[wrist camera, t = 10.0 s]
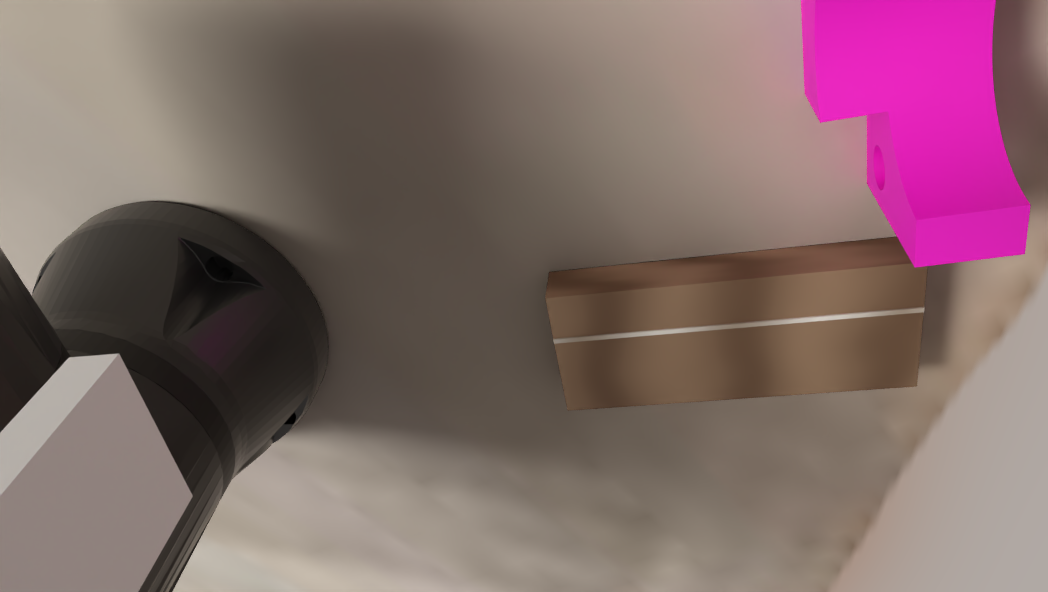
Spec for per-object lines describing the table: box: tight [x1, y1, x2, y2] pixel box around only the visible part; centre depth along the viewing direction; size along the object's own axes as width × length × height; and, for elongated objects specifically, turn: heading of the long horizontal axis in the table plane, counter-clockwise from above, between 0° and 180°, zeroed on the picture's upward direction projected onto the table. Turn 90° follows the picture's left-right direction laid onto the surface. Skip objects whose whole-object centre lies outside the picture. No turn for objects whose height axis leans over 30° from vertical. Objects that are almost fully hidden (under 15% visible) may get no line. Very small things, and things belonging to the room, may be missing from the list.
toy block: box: [801, 0, 1030, 268], centre depth 30 cm, size 15×6×8 cm, turn 12°
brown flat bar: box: [545, 237, 928, 411], centre depth 40 cm, size 17×7×2 cm, turn 100°
